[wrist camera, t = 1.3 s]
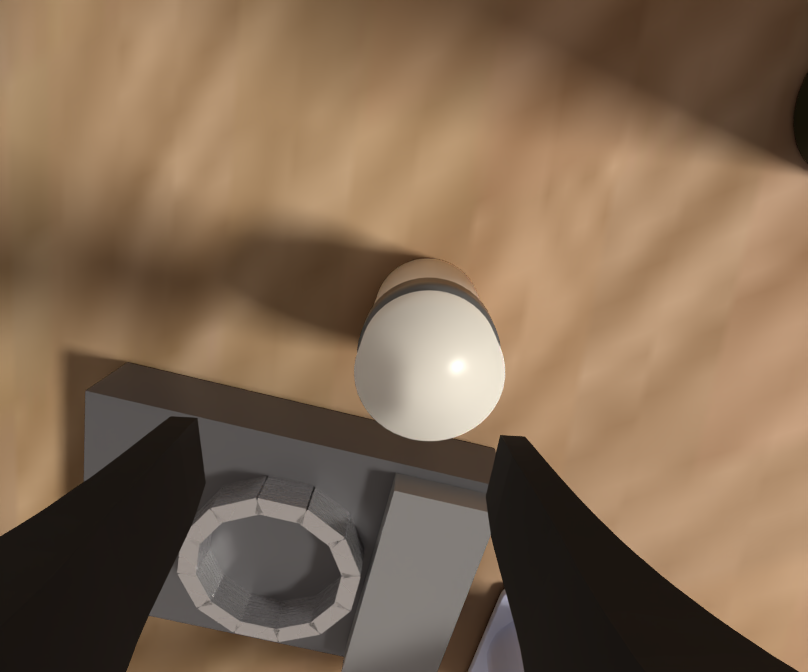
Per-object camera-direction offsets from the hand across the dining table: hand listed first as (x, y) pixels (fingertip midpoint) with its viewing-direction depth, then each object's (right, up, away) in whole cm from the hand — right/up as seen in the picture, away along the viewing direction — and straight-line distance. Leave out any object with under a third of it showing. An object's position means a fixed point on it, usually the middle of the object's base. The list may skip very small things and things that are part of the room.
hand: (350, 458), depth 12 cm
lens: (+2, +4, +10) cm, 11 cm away
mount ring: (-5, -7, +11) cm, 13 cm away
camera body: (-4, -6, +13) cm, 15 cm away
